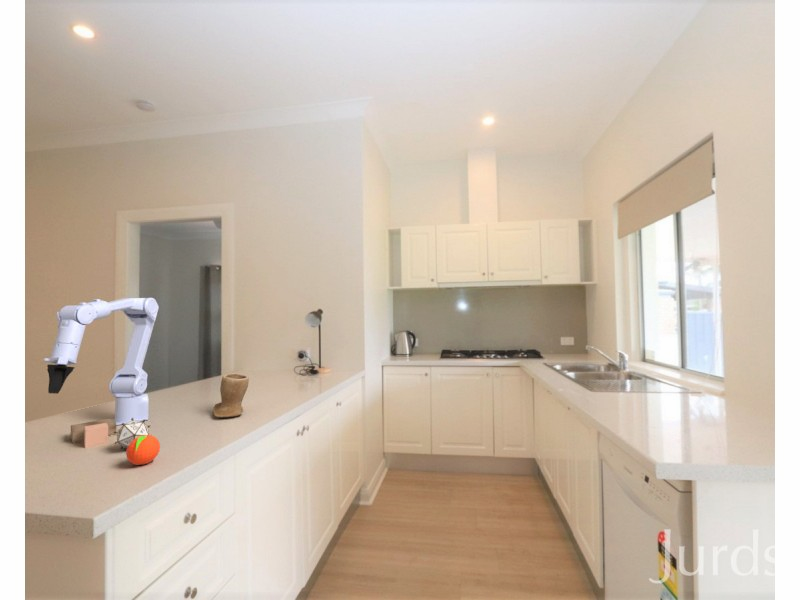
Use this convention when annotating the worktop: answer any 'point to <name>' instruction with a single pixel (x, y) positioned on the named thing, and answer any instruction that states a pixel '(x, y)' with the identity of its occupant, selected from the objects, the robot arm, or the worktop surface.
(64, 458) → the worktop surface
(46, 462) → the worktop surface
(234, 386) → the brown boot
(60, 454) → the worktop surface
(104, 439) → the terracotta cube
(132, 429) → the game die
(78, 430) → the walnut block
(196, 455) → the worktop surface
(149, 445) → the clementine
